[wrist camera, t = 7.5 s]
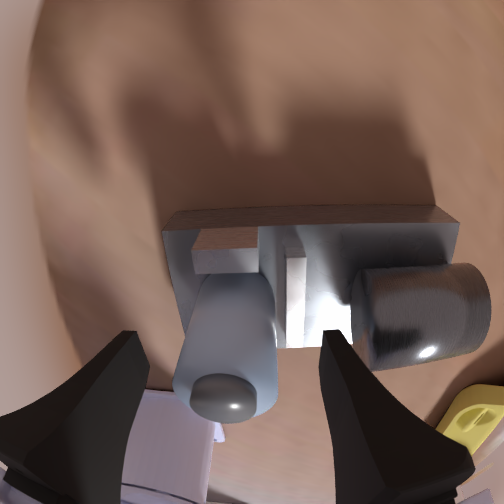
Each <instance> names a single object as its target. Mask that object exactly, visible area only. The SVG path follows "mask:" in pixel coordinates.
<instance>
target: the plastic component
mask: <svg viewBox="0 0 504 504" xmlns="http://www.w3.org/2000/svg"><path fill="white" fill-rule="evenodd" d="M503 416H504V386H494V385H484V384H475V385H471V386H469V387H467V388H465V389H463V390H462V391H461V392H460V393H459V394H458V395H457V396H456V397H455V399H454V400H453V402H452V404H451V405H450V407H449V409H448V410H447V412H446V414H445V415H444V417H443V418H442V420H441V421H440V423H439V424H438V426H437V428H436V429H435V430H437V431H438V432H440V433H442V434H443V435H445V436H447V437H449V438H451V439H452V440H454V441H456V442H458V443H460V444H462V445H464V446H466V447H467V448H468V451H469V453H470V455H471V457H472V455H473V453H474V452H475V451H476V450H477V449H478V447H479V446H480V445H481V444H482V443H483V442H484V440H485V439H486V438H487V437H488V435H489V434H490V433H491V432H492V431H493V429H494V428H495V427H496V425H497V424H498V423H499V421H500V420H501V419H502V417H503Z"/></svg>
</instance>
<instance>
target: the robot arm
mask: <svg viewBox="0 0 504 504" xmlns="http://www.w3.org/2000/svg"><path fill="white" fill-rule="evenodd" d="M149 368H150V365H149V362H148V360H147V357H146V355H145V352H144V350H143V347H142V345H141V342H140V339H139V337H138V334H137V331H126V330H123V331H122V332H121V333H120V334H119V335H117V336H116V337H115V338H114V339H113V340H112V341H111V342H110V343H109V344H108V345H107V346H106V347H105V348H103V349H102V350H101V351H100V352H99V353H98V354H97V355H96V356H95V357H94V358H93V359H92V360H91V361H89V362H88V363H87V364H86V365H85V366H84V367H83V368H81V369H80V370H79V371H78V372H77V373H76V374H74V375H73V376H72V377H71V378H70V379H68V380H67V381H66V382H65V383H63V384H62V385H60V386H59V387H57V388H56V389H55V390H53V391H52V392H50V393H49V394H47V395H45V396H44V397H42V398H40V399H38V400H37V401H35V402H33V403H32V404H29V405H27V406H25V407H23V408H21V409H19V410H17V411H14V412H12V413H9V414H6V415H4V416H1V417H0V461H1V462H3V463H4V464H5V465H6V466H8V469H7V471H5V470H3V469H2V468H1V467H0V504H206V497H207V489H208V481H209V473H210V466H211V458H212V451H213V443H214V442H224V441H225V435H224V431H223V428H222V424H221V423H218V422H213V421H210V420H207V419H205V418H203V417H201V416H199V415H198V414H196V413H195V412H194V411H193V410H192V409H191V408H189V407H188V406H186V405H185V404H184V403H183V402H182V401H181V400H180V399H179V398H178V397H177V396H176V394H175V392H167V391H157V390H148V389H145V387H146V383H147V378H148V373H149ZM319 376H320V385H321V392H322V397H323V401H324V406H325V411H326V415H327V420H328V424H329V429H330V434H331V439H332V445H333V456H334V469H335V488H336V504H456V503H455V499H454V498H456V497H457V496H458V493H457V490H456V487H458V486H459V485H460V484H462V483H463V482H464V481H466V480H467V479H468V478H469V477H470V476H471V475H472V474H473V473H474V471H475V466H474V463H473V460H472V457H471V455H470V453H469V451H468V448H467V447H466V446H464V445H462V444H460V443H458V442H456V441H454V440H452V439H451V438H449V437H447V436H445V435H443V434H442V433H440V432H438V431H437V430H435V429H434V428H432V427H431V426H429V425H428V424H427V423H425V422H424V421H422V420H421V419H420V418H418V417H417V416H416V415H414V414H413V413H412V412H411V411H409V410H408V409H407V408H406V407H405V406H404V405H403V404H401V403H400V402H399V401H398V400H397V399H396V398H395V397H394V396H393V395H392V394H391V393H390V392H389V391H388V390H387V389H386V388H385V387H384V386H383V385H382V384H381V383H380V381H379V380H378V379H377V378H376V377H375V376H374V375H373V373H372V372H371V371H370V370H369V369H368V367H367V366H366V365H365V363H364V362H363V361H362V360H361V358H360V357H359V356H358V354H357V353H356V352H355V350H354V349H353V348H352V346H351V345H350V343H349V342H348V340H347V339H346V337H345V336H344V334H343V333H342V331H341V330H340V329H332V330H323V335H322V344H321V352H320V360H319ZM457 504H494V502H493V498H492V495H491V492H490V489H485V490H483V491H482V492H480V493H478V494H476V495H473V496H471V497H469V498H467V499H465V500H463V501H461V502H459V503H457Z"/></svg>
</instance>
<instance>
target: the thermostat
mask: <svg viewBox="0 0 504 504" xmlns="http://www.w3.org/2000/svg"><path fill="white" fill-rule="evenodd" d="M206 504H230V503H218V502H209V501H206Z"/></svg>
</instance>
